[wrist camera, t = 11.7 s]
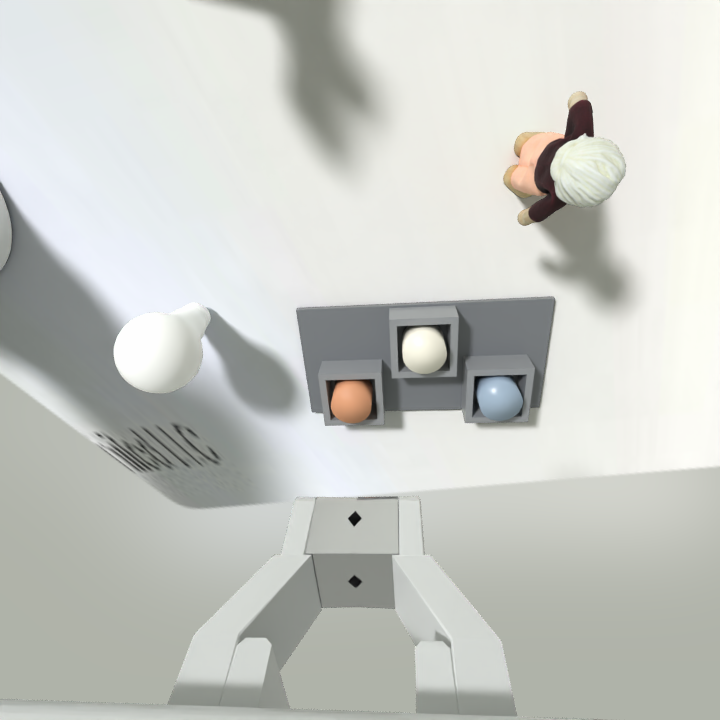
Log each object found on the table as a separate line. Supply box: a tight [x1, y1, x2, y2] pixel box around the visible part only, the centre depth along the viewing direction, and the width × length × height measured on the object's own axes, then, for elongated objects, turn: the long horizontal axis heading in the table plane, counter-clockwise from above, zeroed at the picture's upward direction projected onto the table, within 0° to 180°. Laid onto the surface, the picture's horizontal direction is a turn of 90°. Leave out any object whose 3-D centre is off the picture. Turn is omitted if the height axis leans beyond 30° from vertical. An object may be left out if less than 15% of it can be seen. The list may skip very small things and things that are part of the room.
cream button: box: [402, 325, 447, 374], centre depth 37 cm, size 4×4×3 cm
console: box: [296, 297, 555, 426], centre depth 40 cm, size 22×11×3 cm, turn 94°
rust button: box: [331, 379, 373, 423], centre depth 40 cm, size 4×4×3 cm
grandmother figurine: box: [503, 91, 626, 226], centre depth 27 cm, size 8×4×13 cm, turn 177°
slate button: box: [474, 375, 523, 421], centre depth 39 cm, size 4×4×3 cm
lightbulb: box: [114, 303, 211, 393], centre depth 35 cm, size 6×6×11 cm
